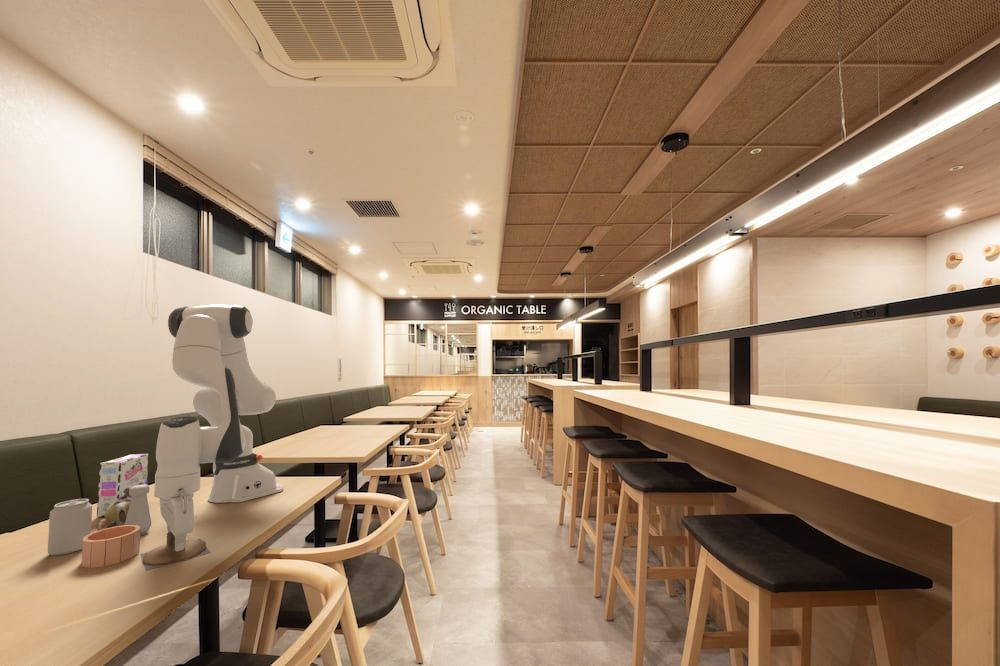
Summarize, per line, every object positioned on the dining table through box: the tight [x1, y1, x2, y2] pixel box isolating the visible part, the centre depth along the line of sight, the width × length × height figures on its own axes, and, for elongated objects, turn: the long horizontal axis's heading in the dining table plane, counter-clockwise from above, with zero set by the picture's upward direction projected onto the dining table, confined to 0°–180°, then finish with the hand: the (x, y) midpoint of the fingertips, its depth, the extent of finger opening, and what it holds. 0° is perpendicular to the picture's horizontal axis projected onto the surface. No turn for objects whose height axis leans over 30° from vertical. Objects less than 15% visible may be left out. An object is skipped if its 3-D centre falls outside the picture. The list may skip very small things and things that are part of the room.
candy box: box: [96, 453, 149, 518], centre depth 137 cm, size 14×6×16 cm, turn 9°
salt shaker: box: [125, 484, 152, 537], centre depth 116 cm, size 6×6×13 cm
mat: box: [139, 538, 212, 571], centre depth 102 cm, size 12×12×1 cm
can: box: [47, 498, 93, 557], centre depth 106 cm, size 8×8×12 cm
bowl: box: [81, 525, 141, 569], centre depth 101 cm, size 10×10×6 cm
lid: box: [142, 532, 207, 565], centre depth 102 cm, size 12×12×5 cm
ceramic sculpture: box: [96, 496, 131, 531], centre depth 122 cm, size 11×9×15 cm
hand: (175, 544), depth 102 cm, fingers open, 8 cm apart
